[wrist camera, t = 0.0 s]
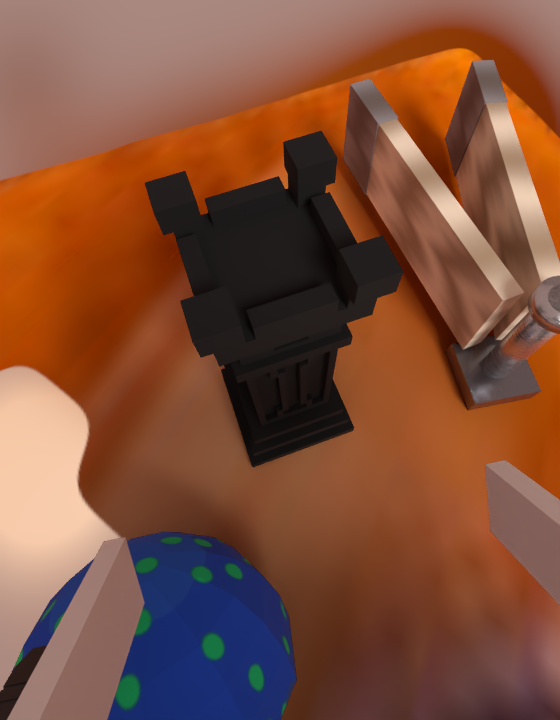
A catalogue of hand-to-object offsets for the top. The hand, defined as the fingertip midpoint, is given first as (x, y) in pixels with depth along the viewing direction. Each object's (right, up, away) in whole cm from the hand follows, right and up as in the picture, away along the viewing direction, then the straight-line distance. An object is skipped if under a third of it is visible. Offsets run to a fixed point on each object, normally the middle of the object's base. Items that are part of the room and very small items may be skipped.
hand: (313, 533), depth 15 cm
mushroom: (-7, -12, +12) cm, 18 cm away
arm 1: (+16, +18, +22) cm, 32 cm away
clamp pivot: (+15, +5, +18) cm, 24 cm away
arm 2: (+10, +17, +21) cm, 29 cm away
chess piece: (-1, +3, +18) cm, 19 cm away
